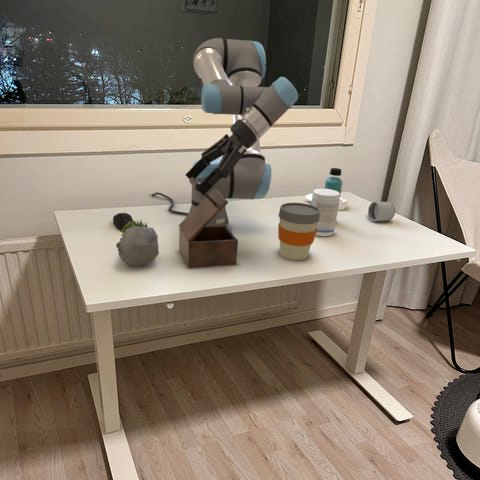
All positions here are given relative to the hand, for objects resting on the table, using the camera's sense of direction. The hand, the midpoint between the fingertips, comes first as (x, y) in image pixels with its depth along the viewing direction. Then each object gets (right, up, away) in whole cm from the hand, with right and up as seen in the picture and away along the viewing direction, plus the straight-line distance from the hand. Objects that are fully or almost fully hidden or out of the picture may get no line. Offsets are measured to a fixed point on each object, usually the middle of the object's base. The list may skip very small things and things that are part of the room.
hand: (193, 185), depth 132 cm
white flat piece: (+50, +12, +71) cm, 87 cm away
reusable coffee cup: (+30, -17, +20) cm, 40 cm away
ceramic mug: (+68, +2, +57) cm, 89 cm away
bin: (+3, -19, +13) cm, 23 cm away
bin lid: (+2, -7, +5) cm, 9 cm away
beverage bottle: (+46, 0, +51) cm, 69 cm away
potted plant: (-18, -20, +7) cm, 28 cm away
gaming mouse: (-27, -6, +31) cm, 41 cm away
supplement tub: (+42, -6, +40) cm, 58 cm away
